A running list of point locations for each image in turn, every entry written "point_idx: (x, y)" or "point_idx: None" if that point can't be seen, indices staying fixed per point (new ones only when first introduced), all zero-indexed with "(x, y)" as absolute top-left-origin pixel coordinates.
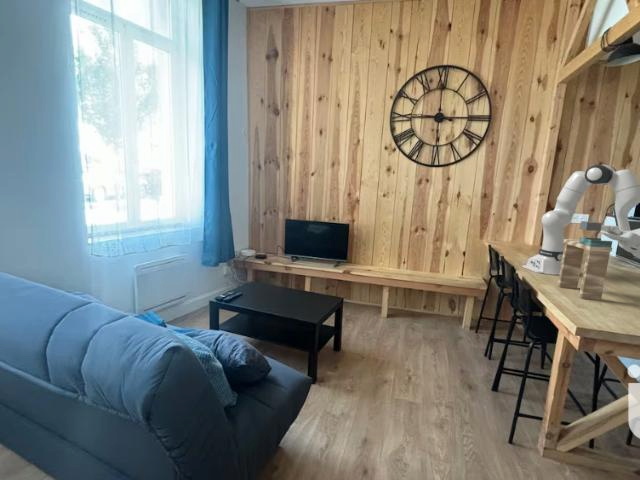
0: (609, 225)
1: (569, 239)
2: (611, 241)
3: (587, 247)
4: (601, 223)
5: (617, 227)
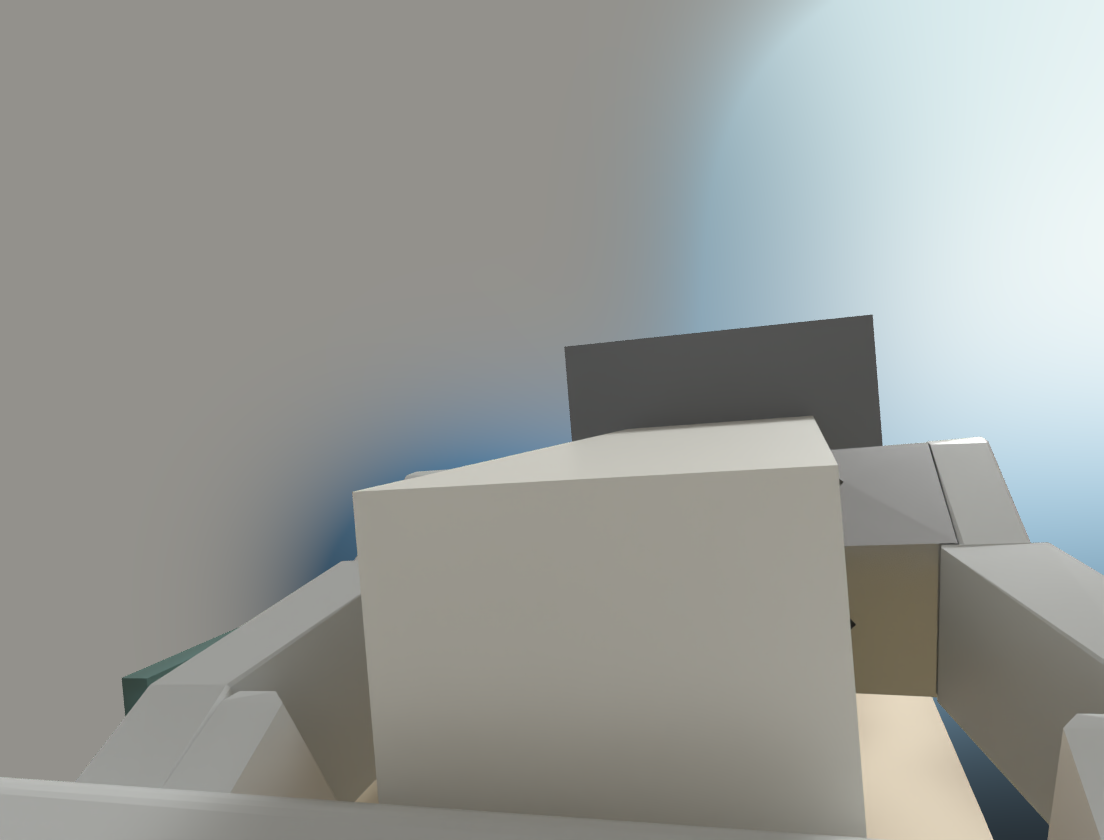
0: (812, 439)
1: (915, 706)
2: (134, 675)
3: None
4: (569, 362)
5: (395, 558)
